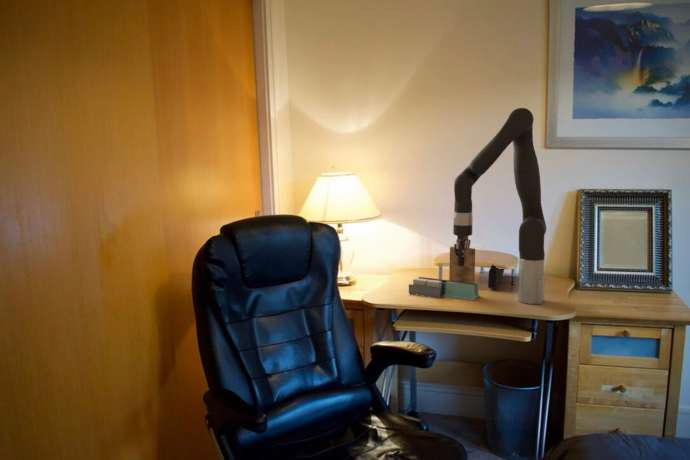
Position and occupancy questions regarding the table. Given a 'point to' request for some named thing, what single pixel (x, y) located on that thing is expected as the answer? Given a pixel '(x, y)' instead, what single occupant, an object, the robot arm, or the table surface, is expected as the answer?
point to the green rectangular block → (462, 290)
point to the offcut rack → (429, 289)
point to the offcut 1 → (419, 281)
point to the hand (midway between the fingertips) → (462, 265)
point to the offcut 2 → (433, 283)
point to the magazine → (494, 277)
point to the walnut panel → (462, 272)
